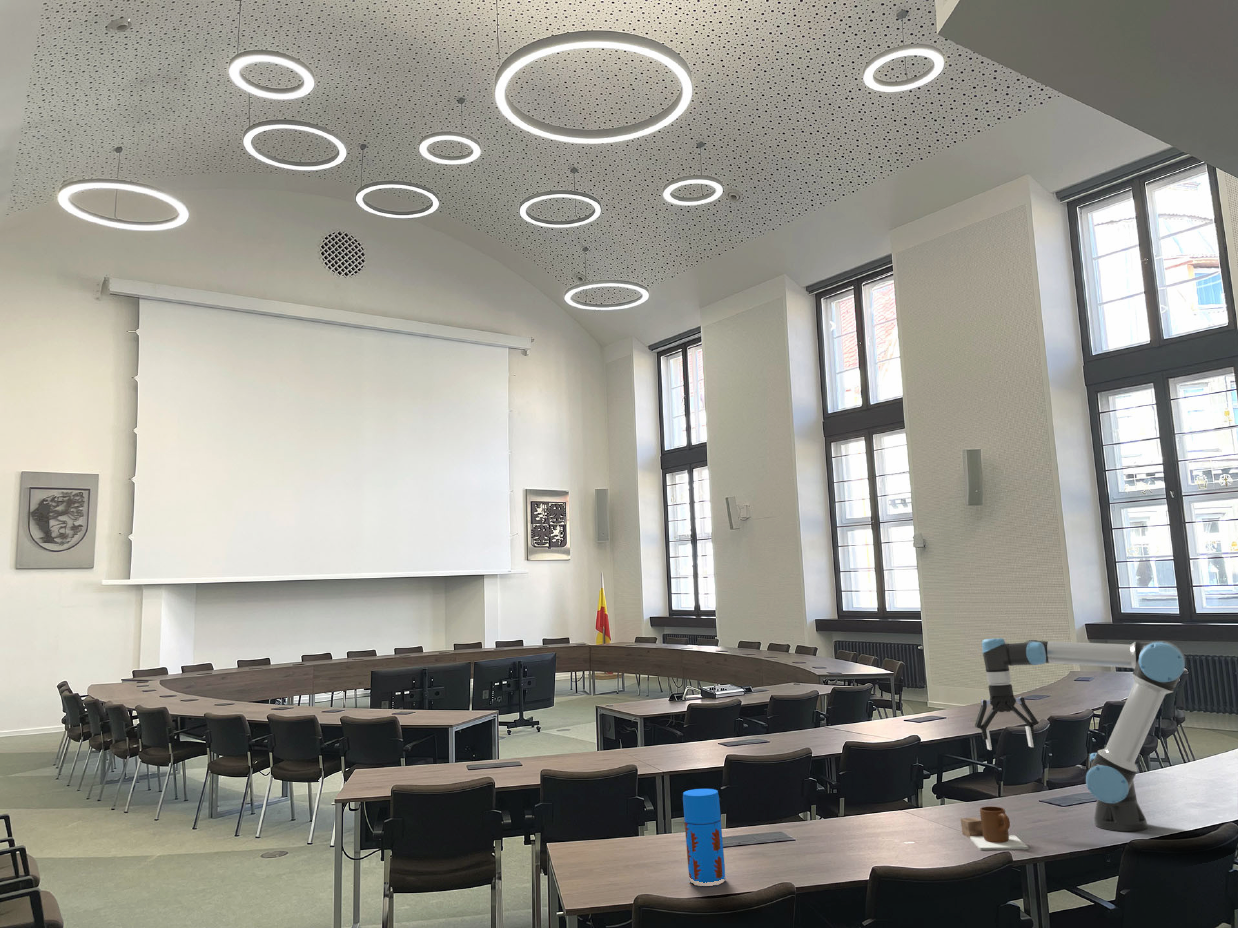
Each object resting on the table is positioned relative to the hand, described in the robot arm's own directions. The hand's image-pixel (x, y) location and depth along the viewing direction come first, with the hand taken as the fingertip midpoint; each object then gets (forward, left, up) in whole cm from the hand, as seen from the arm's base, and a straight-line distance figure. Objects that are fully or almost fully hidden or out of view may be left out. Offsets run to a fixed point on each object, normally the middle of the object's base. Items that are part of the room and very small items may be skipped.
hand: (1010, 747), depth 286 cm
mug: (+11, +18, -26) cm, 33 cm away
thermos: (+102, +51, -26) cm, 117 cm away
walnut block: (+17, +7, -26) cm, 32 cm away
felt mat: (+12, +18, -26) cm, 34 cm away
